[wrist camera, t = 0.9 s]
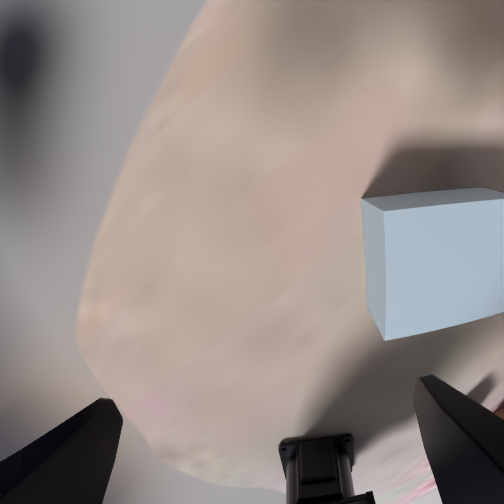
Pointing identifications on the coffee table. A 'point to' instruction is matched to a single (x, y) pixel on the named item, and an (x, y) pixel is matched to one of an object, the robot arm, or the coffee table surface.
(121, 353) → the coffee table surface
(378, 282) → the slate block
